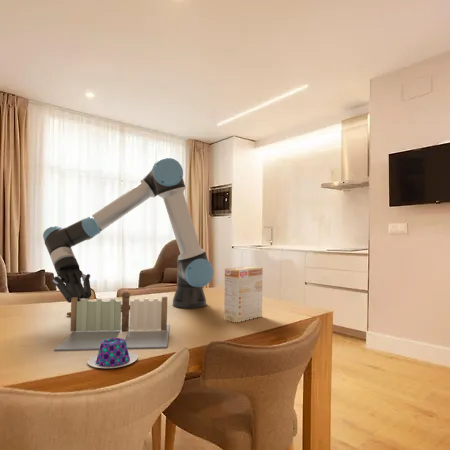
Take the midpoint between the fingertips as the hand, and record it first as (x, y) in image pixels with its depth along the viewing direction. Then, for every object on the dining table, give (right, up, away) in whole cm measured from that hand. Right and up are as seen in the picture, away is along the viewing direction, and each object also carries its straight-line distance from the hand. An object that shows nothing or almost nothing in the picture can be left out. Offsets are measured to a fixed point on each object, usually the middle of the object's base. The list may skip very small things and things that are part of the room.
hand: (87, 317), depth 111 cm
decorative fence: (-5, -6, +27) cm, 28 cm away
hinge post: (+12, -5, -1) cm, 13 cm away
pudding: (+17, -5, -25) cm, 31 cm away
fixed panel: (+20, -5, 0) cm, 20 cm away
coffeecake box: (+52, -6, +21) cm, 56 cm away
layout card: (+12, -5, -6) cm, 14 cm away
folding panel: (+3, -4, -2) cm, 5 cm away
